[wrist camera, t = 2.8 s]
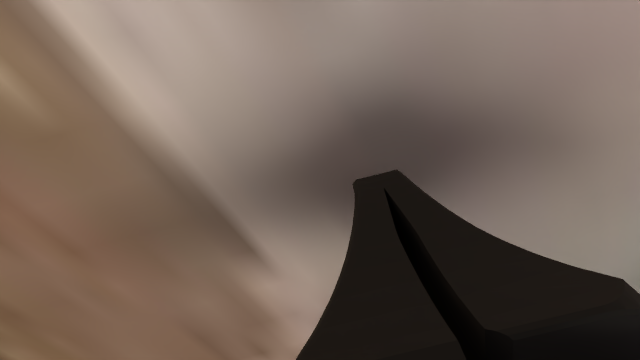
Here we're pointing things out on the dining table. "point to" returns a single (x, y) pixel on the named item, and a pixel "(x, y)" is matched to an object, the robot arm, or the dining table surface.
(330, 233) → the dining table surface
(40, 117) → the dining table surface
